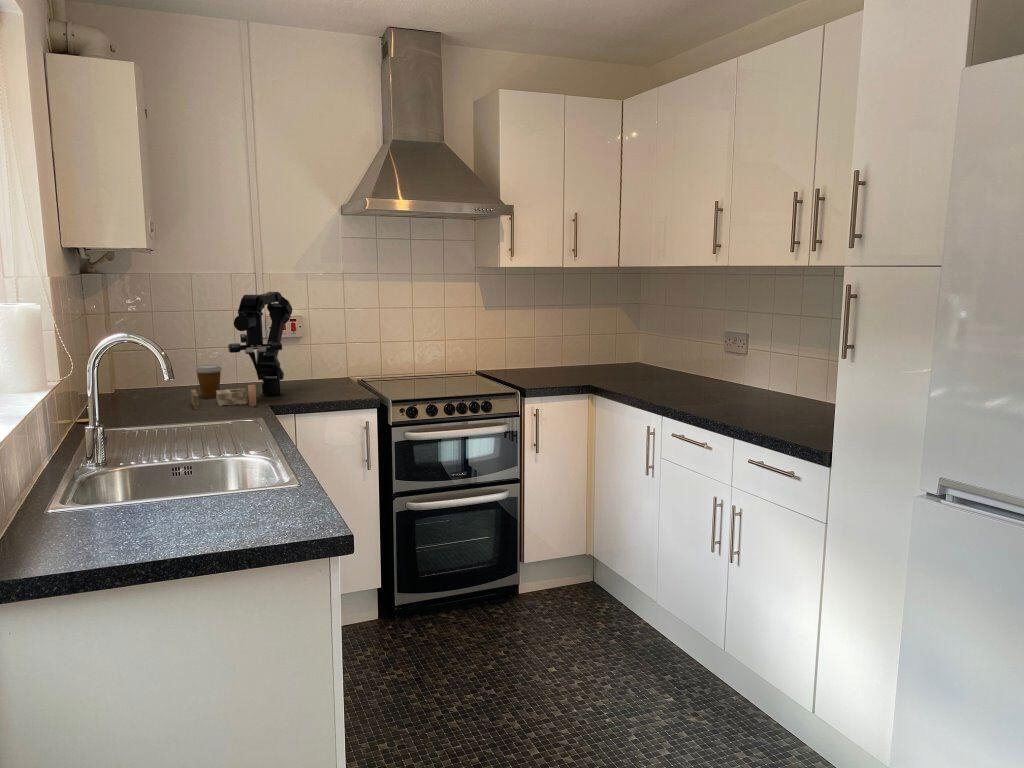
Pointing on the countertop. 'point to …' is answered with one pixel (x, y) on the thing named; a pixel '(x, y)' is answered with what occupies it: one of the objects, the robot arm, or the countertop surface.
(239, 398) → the block
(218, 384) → the disposable coffee cup
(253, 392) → the dowel
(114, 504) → the countertop surface
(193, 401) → the wall
